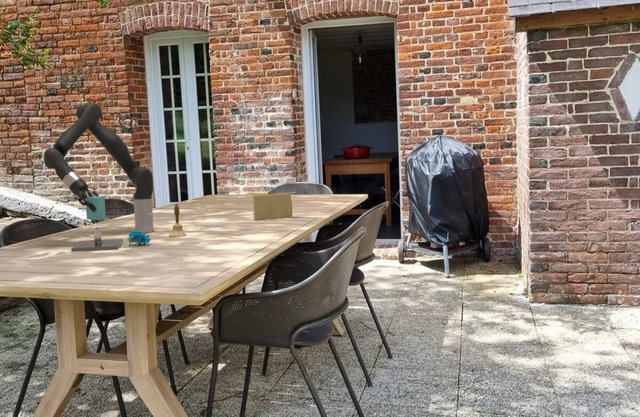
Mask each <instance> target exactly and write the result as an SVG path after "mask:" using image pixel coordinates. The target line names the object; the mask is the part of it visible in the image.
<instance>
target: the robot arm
mask: <svg viewBox="0 0 640 417" xmlns="http://www.w3.org/2000/svg"><path fill="white" fill-rule="evenodd" d="M102 111H103V110H102V108H101V106H100V105H99V104H97V103H96V102H88V103H85V104H82V105H79V106H77V108H76V110H75V114H76V117H77V119H78V120H76V121H75V122H74V123H73V124H72V125H71V126H70V127H69V128H67V129H65V131H64V132H63V133H62V134H61V135H60V136H59V137H58V138H57V140H56V141H55V142H54V144H53V147H51V148H46V150H45V151H44V153H43V163H44V166H45V167H46V168H48V169H51V170H52V169H53V170H54V171H55V175H56V176H57V177H58V178H59V179H60V180H61V181H62V183H63V184H64V185H65V186H66V187H67V189H68V190H69V191H70V193H72V194H73V195H74V199H75V200H76V201H77V202H79V203H80V205H81V206H83V207H86V206H87V207H89V208H90V209H91V210H92V212H95V210H96V207H95V206H94V205H93V204H92V203H91V202H90V201H89V197H96V196H100V195H99V194H98V193H97V191H96V190H93V191H91V190H90V189H89V185H88V183H87V182H86V181H85V180H84V179H83V178H82V177H81V175H79V173H78V172H76V171H75V170H74V168H72V167H71V165H69V164H68V161H67V160H66V158H65V157H66V156H67V153H68V152H69V151H70V150H71V148H72V147H73V146H74V145H75V144H76V142H77V141H78V140H79V139H80V138H81V137H82V136H83V134H85V132H86V131H89V132H91V134H93V136H94V137H95V138H96V139H97V141H99V143H100V144H101V145H102V146H103V147H104V150H106V152H108V154H109V155H110V156H111V157H112V158H113V159H114V160H115V161H116V163H117V164H118V165H119V166H120V167H121V169H122V170H123V171H124V173H125V175H126V176H127V178H128V179H129V180H130V182H131V183H132V184H133V185H135V186H136V191H135V192H134V193H133V210H134V211H133V214H134V230H135V231H136V232H138V231H141V233H143V232H145V233H151V232H154V231H155V230H154V229H155V227H154V226H155V224H154V212H153V198H152V197H153V192H154V176H153V173H152V171H151V170H150V169H148V168H146V167H141V166H140V165H139V164H137V163H136V161H135V160H134V159H133V158H132V155H131V153H130V150H129V148H128V146H127V144H126V143H125V141H124V140H123V139H122V138H121V137H120V135H118V134H117V133H115V132H114V131H113V130H111V129H109V128H108V127H106V126H105V125H104V124H102V123H101V121H100V118H101V117H102V114H103V113H102ZM87 201H88V202H87Z"/></svg>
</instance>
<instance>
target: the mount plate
mask: <svg viewBox="0 0 640 417" xmlns="http://www.w3.org/2000/svg"><path fill="white" fill-rule="evenodd" d="M93 239H94V240H91V239H90V240H79V241H78V242H77V243H75V244H74V245H73V246H72V247H71V250H70V251H71V252H93V251H95V252H96V251H111V250H113V251H115V250H119V248H121V246H122V245H123V243H124V239H123V238H120V239H119V238H118V239H117V238H116V239H102V230H101V228H100V227H94V229H93Z"/></svg>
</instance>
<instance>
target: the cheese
mask: <svg viewBox="0 0 640 417" xmlns="http://www.w3.org/2000/svg"><path fill="white" fill-rule="evenodd" d="M252 202H253V220H254V221H267V220H266V219H270V220H279V219H278V218H291V217H292V218H293V203H292V202H293V201H292V195H291V193H290V192H279V193H277V192H276V193H254V194H253V199H252ZM292 218H291V219H292Z"/></svg>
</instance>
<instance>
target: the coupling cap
mask: <svg viewBox="0 0 640 417" xmlns="http://www.w3.org/2000/svg"><path fill="white" fill-rule="evenodd" d="M105 198H106V197H105V196H100V195H99V196H96V197H89V201H90V202H91V203H92V204H93V205H94V206H95V207H96V210H95V212H92V210H91V209H90V208H89V207H87V206H86V205H85V211H86V220H87V221H88V220H90V221H91V220H92V221H100V220H103V219H106V218H107V216H106V215H107V214H106V199H105ZM87 202H88V201H87Z"/></svg>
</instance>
